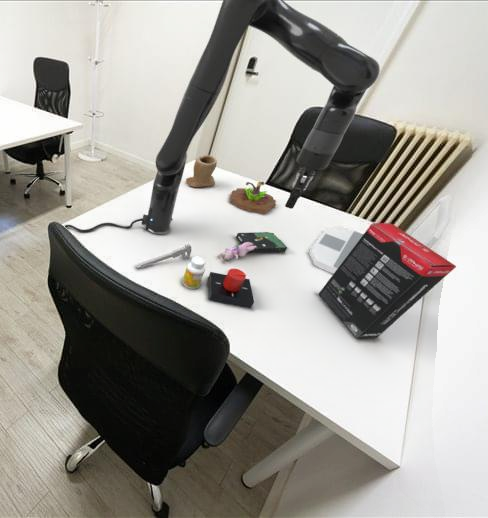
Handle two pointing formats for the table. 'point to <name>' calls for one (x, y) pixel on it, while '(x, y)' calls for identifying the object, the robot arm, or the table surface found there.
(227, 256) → the pink creature figurine
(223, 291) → the control panel
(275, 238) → the disk drive
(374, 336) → the graphics card box
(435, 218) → the laptop
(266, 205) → the plant
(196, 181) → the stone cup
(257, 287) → the table surface
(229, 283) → the knob
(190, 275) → the supplement bottle
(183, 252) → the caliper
